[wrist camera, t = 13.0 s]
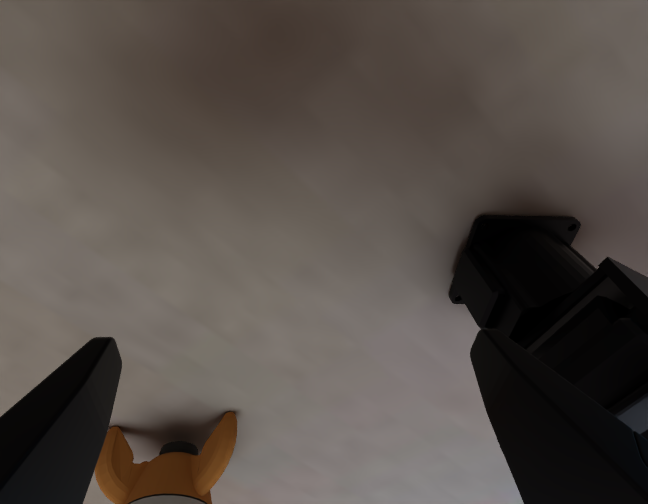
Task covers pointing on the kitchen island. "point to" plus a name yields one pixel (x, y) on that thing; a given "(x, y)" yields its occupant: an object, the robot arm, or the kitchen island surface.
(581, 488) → the robot arm
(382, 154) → the kitchen island surface
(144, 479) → the toy rocket
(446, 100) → the kitchen island surface
